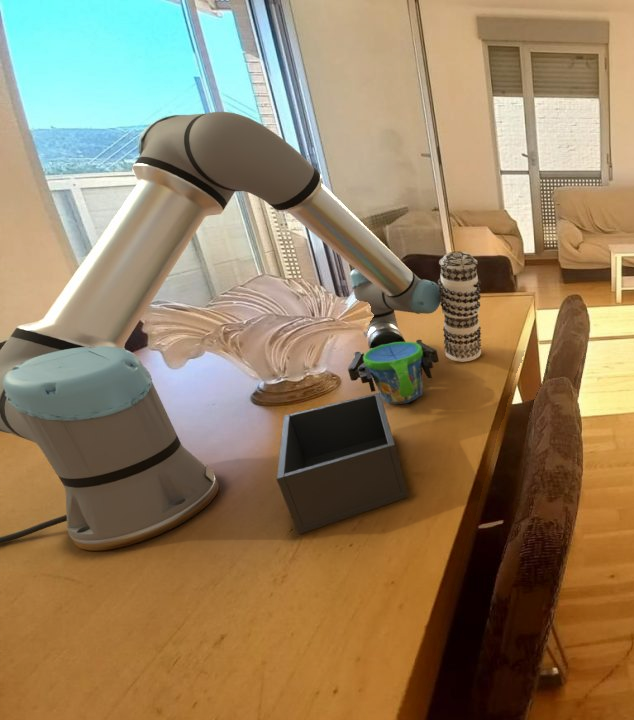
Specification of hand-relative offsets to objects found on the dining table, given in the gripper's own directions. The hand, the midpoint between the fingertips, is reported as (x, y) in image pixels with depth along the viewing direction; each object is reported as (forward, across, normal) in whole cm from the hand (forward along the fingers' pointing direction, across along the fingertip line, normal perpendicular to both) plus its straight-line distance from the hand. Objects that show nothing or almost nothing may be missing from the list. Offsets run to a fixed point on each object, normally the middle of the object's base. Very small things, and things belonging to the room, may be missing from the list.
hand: (400, 378), depth 90 cm
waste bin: (+20, +11, -6) cm, 23 cm away
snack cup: (-4, 0, -6) cm, 8 cm away
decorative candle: (-20, -16, -6) cm, 27 cm away
